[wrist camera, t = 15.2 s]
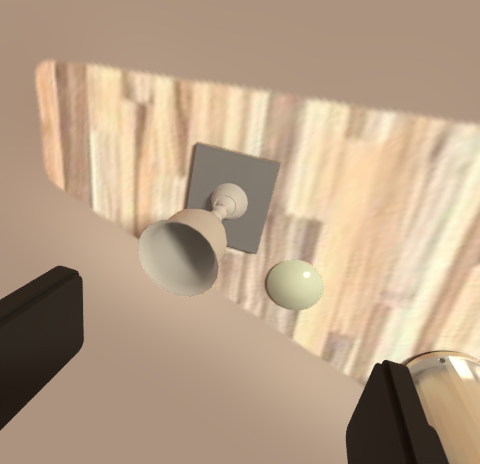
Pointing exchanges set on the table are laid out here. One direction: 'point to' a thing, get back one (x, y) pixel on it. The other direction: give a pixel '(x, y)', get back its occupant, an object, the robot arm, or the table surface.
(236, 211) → the chalice
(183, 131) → the table surface
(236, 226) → the slate board
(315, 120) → the table surface
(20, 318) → the robot arm
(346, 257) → the table surface
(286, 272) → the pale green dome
